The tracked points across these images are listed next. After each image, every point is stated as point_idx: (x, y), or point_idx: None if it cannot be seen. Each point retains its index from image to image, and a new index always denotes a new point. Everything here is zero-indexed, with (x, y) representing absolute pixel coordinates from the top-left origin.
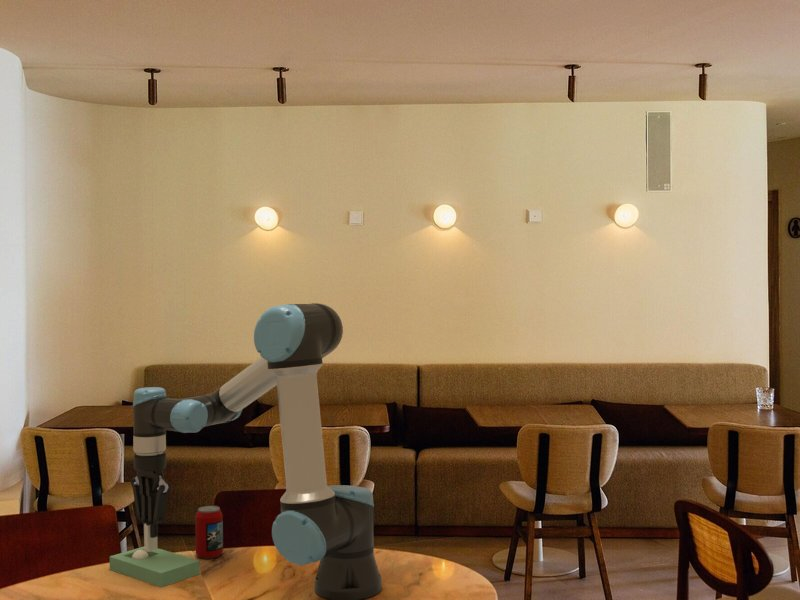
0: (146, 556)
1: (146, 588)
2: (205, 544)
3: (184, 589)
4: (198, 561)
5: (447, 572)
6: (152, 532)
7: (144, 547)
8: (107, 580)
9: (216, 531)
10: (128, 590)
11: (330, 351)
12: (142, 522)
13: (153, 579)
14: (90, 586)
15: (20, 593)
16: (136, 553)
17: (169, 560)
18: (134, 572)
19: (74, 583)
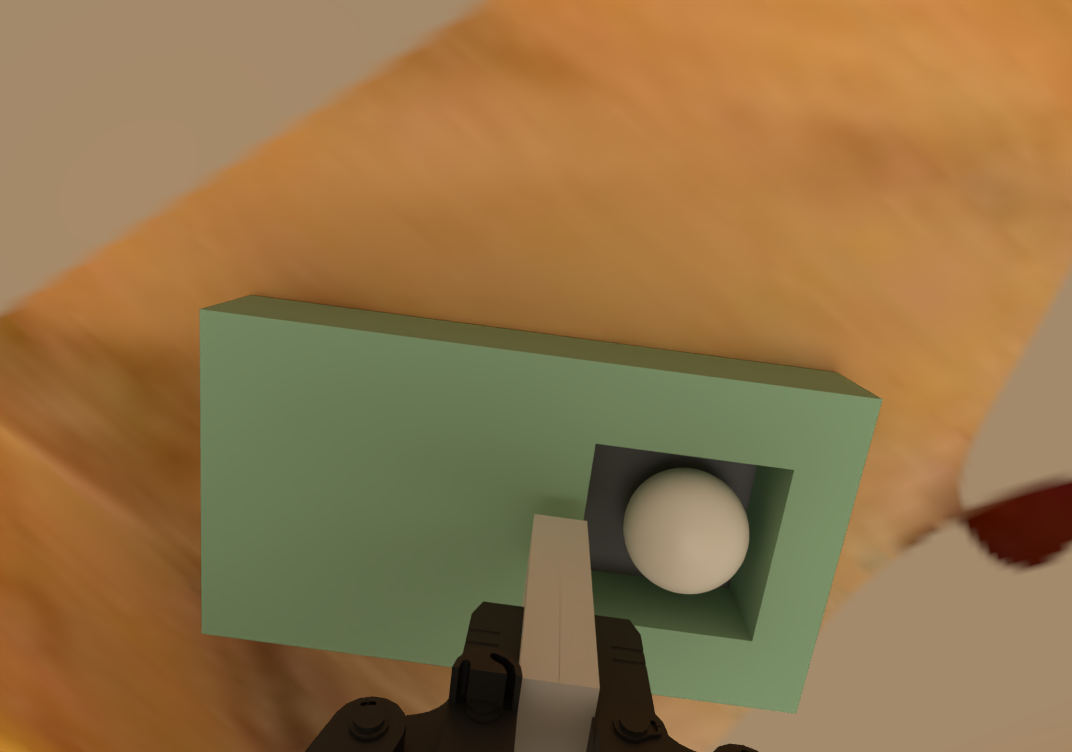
0: (628, 547)
1: (316, 231)
2: None
3: (99, 341)
4: (203, 623)
5: None
6: (480, 638)
7: (584, 534)
8: (682, 208)
9: None
10: (389, 137)
11: None
12: (645, 708)
13: (321, 312)
14: (699, 49)
15: None
16: (691, 516)
17: (381, 543)
18: (544, 342)
19: (864, 30)
